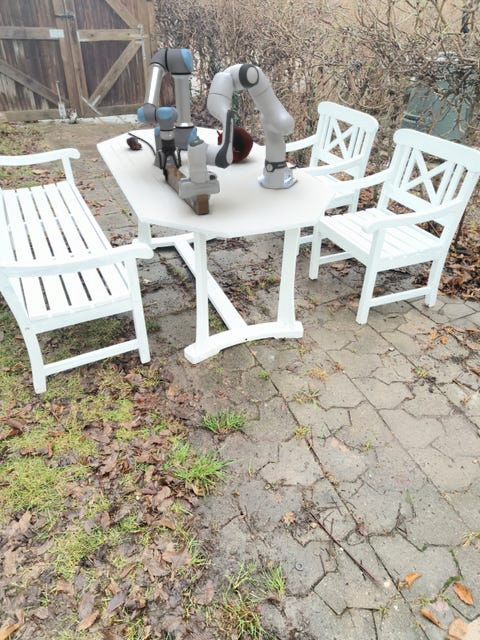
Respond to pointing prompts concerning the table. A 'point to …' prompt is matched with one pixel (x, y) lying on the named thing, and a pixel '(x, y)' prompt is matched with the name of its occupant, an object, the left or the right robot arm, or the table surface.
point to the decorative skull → (239, 143)
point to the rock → (133, 143)
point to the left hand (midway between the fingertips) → (171, 180)
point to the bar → (200, 200)
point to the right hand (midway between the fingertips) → (200, 204)
